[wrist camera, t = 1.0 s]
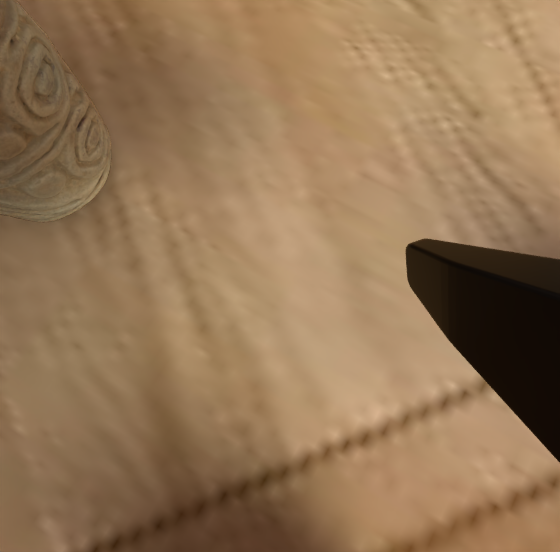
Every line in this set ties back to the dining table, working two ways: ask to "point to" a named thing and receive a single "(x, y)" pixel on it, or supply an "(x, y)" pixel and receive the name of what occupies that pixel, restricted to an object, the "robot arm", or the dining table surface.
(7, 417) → the dining table surface
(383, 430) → the dining table surface
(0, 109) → the carving
